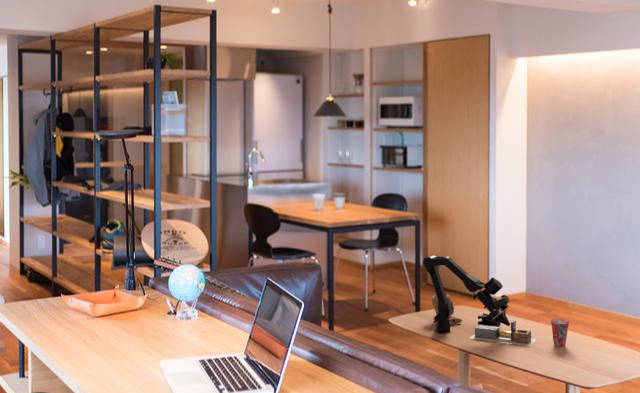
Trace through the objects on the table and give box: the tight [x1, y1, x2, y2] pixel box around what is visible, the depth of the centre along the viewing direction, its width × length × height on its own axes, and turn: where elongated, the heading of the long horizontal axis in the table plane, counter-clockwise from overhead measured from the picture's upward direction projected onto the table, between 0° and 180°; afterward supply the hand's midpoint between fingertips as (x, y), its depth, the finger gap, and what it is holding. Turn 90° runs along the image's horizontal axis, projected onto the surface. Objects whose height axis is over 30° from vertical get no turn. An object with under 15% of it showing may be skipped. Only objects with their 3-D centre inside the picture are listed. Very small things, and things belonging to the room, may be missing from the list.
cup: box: [550, 318, 570, 348], centre depth 379 cm, size 9×8×12 cm
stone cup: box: [431, 293, 463, 326], centre depth 425 cm, size 15×12×15 cm
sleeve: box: [474, 324, 500, 340], centre depth 395 cm, size 10×6×5 cm, turn 60°
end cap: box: [477, 313, 502, 328], centre depth 413 cm, size 10×7×7 cm
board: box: [468, 333, 538, 347], centre depth 391 cm, size 30×13×1 cm, turn 60°
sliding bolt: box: [496, 319, 517, 341], centre depth 390 cm, size 17×4×9 cm, turn 60°
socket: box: [514, 329, 532, 344], centre depth 386 cm, size 6×7×5 cm
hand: (509, 325), depth 389 cm, fingers closed
